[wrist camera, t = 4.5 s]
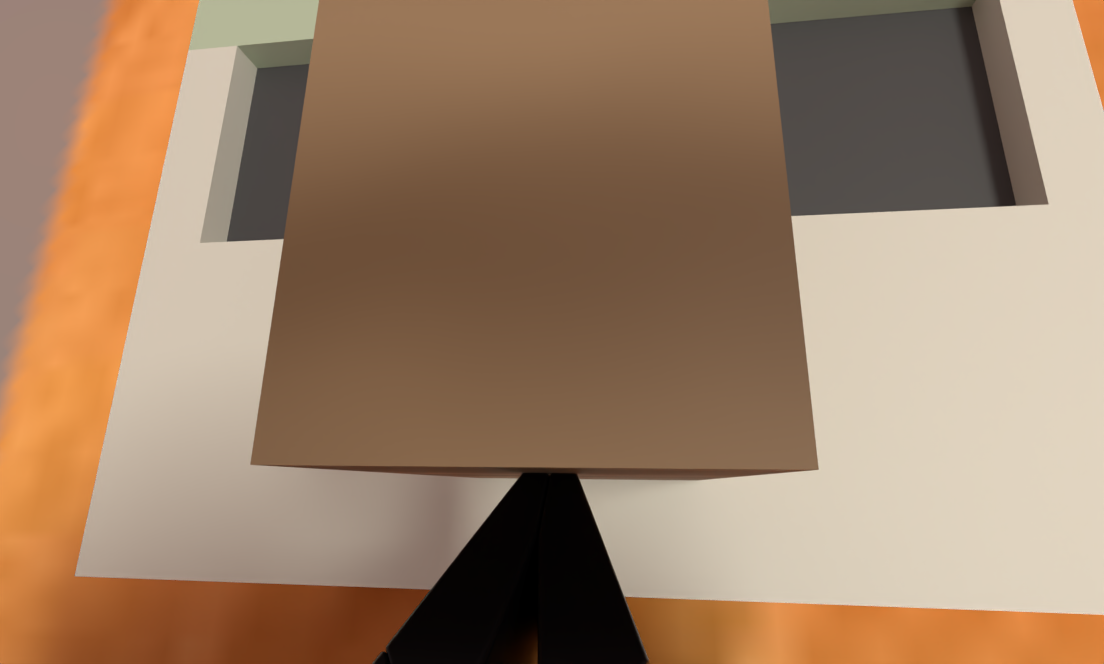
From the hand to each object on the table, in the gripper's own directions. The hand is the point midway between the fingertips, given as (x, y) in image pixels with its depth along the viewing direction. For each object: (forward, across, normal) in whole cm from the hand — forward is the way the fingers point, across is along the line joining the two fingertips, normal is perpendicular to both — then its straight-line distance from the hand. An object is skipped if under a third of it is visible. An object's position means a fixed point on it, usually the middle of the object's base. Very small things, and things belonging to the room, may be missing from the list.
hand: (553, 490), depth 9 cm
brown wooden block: (+10, 0, -1) cm, 10 cm away
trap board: (+15, 0, -3) cm, 15 cm away
